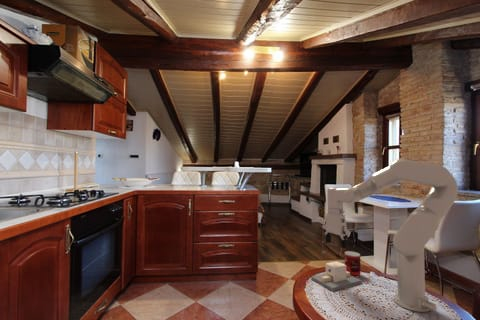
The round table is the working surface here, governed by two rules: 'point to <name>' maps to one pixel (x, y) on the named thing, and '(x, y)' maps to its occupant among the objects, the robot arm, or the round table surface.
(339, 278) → the cabinet block
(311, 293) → the round table surface
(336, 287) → the mount board
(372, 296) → the round table surface
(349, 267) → the canned food
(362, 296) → the round table surface
